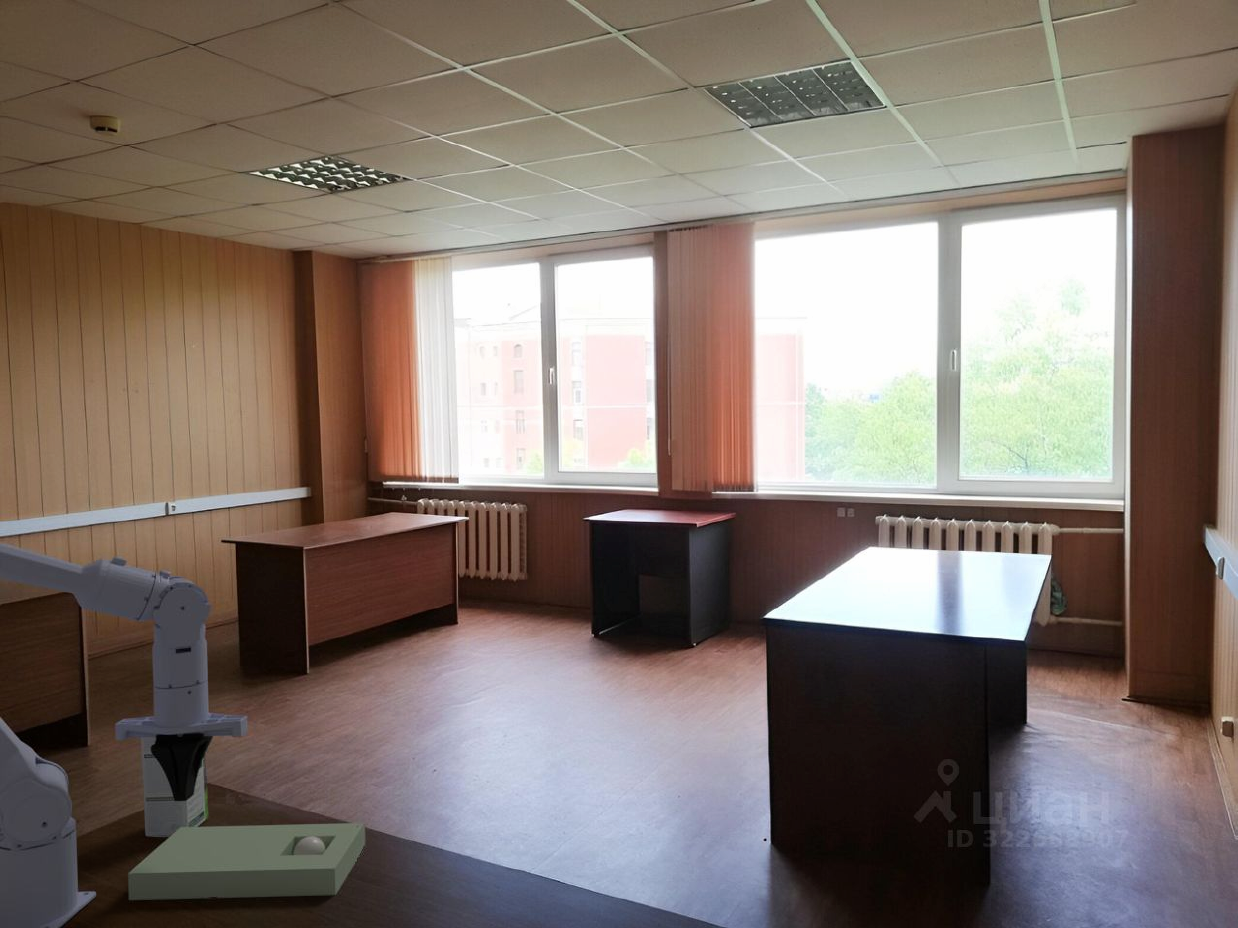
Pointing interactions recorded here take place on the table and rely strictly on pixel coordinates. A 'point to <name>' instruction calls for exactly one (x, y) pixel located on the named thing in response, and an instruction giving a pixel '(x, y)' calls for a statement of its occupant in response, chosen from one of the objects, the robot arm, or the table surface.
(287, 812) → the table surface
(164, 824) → the syrup box
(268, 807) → the table surface
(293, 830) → the green board
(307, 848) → the ball
